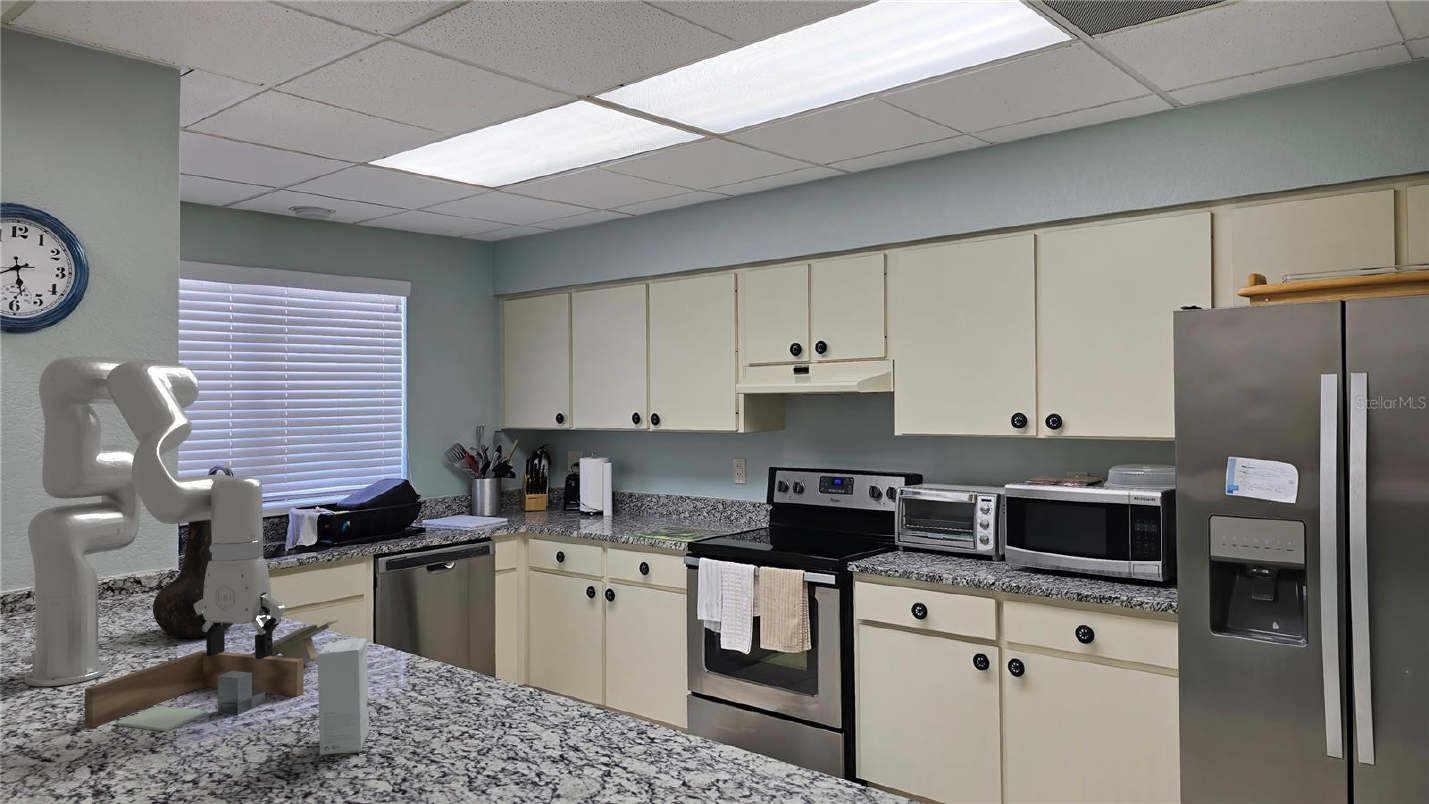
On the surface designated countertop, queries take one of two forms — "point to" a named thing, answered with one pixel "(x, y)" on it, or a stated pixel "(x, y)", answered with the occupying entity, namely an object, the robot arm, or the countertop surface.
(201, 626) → the glass bottle
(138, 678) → the wall
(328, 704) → the skincare box
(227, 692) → the metal block
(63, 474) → the robot arm
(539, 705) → the countertop surface
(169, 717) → the pad
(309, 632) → the grey angled piece
